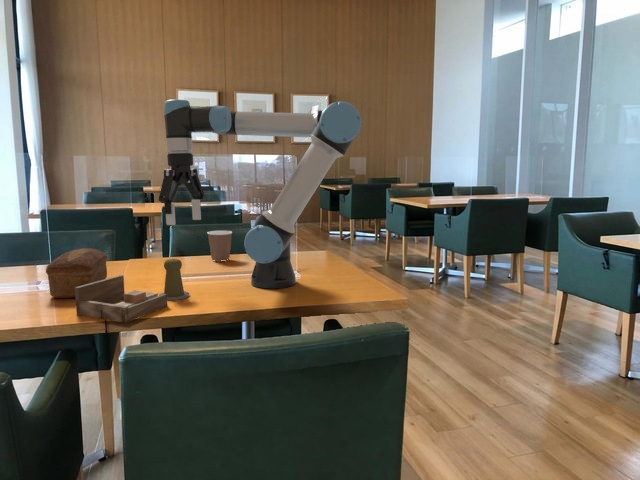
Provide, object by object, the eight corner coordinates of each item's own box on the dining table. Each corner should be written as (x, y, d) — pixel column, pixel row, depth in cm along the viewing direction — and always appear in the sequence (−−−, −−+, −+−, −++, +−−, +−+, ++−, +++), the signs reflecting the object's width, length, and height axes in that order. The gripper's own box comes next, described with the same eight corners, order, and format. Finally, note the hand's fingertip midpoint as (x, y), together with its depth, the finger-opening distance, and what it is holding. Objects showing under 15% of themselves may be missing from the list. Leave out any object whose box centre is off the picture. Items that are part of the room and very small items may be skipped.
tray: (167, 306, 138) (166, 280, 137) (125, 322, 124) (123, 294, 123) (121, 299, 145) (120, 275, 144) (76, 314, 130) (74, 287, 129)
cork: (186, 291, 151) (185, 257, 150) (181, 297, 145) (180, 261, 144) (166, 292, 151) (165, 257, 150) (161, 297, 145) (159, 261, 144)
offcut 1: (135, 315, 130) (134, 303, 129) (123, 320, 126) (123, 307, 126) (123, 314, 131) (122, 301, 131) (112, 318, 128) (111, 305, 127)
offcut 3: (158, 306, 138) (157, 293, 138) (148, 310, 134) (147, 296, 134) (147, 305, 140) (146, 291, 139) (137, 308, 136) (136, 295, 135)
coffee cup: (238, 259, 206) (237, 231, 204) (221, 263, 197) (220, 234, 195) (220, 257, 211) (219, 229, 209) (202, 261, 202) (201, 232, 200)
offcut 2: (146, 311, 134) (145, 291, 133) (136, 315, 130) (135, 295, 129) (135, 309, 135) (134, 290, 135) (124, 313, 132) (123, 293, 131)
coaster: (195, 294, 151) (195, 292, 151) (176, 301, 143) (176, 299, 143) (172, 291, 154) (171, 289, 154) (152, 298, 146) (152, 296, 146)
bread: (42, 302, 142) (39, 261, 140) (69, 279, 169) (66, 245, 167) (93, 299, 145) (91, 259, 143) (111, 278, 172) (109, 244, 170)
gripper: (192, 153, 160) (196, 217, 163) (142, 152, 137) (148, 227, 140) (212, 153, 158) (216, 217, 161) (164, 151, 134) (169, 227, 138)
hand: (184, 222), depth 150 cm, fingers open, 13 cm apart
